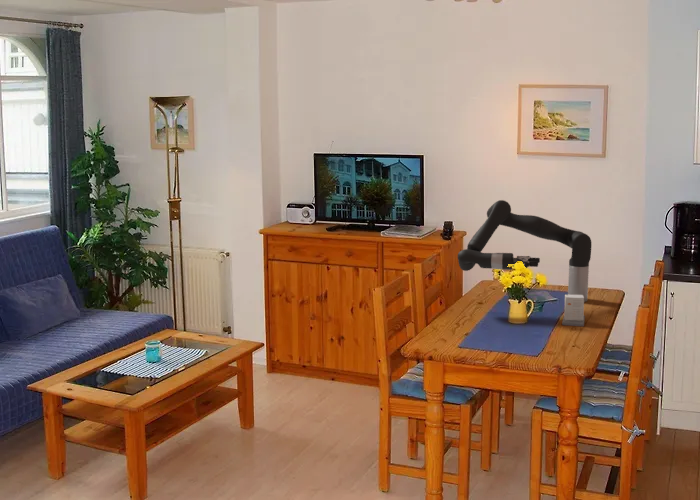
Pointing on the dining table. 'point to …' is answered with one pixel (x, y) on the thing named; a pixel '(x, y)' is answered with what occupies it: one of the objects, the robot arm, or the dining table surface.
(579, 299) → the small box
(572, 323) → the slate tile
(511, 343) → the dining table surface
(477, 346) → the dining table surface
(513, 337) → the dining table surface
